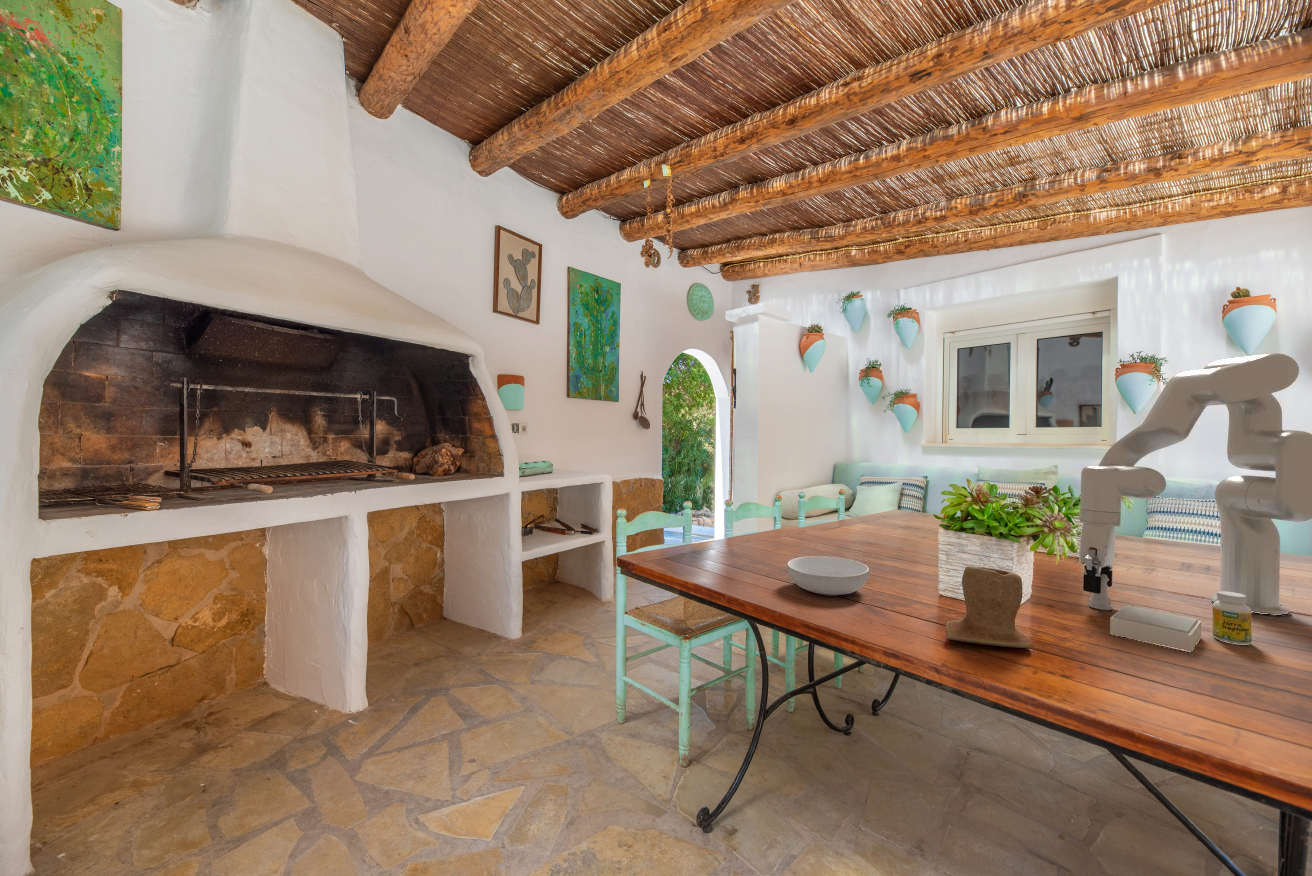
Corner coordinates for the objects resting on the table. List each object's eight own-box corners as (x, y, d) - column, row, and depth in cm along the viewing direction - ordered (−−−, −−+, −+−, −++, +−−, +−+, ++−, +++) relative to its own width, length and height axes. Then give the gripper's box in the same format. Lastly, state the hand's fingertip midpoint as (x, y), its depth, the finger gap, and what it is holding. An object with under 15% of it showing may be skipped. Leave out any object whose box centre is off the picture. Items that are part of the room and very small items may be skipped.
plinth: (1124, 621, 119) (1124, 604, 118) (1201, 638, 109) (1201, 618, 109) (1110, 634, 111) (1110, 615, 111) (1191, 653, 102) (1191, 632, 102)
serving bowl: (771, 585, 148) (771, 560, 148) (829, 576, 157) (829, 553, 157) (824, 607, 129) (824, 579, 129) (887, 596, 138) (887, 569, 138)
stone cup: (1018, 634, 111) (1018, 563, 111) (1037, 657, 100) (1038, 578, 100) (937, 626, 116) (937, 557, 116) (946, 646, 105) (947, 571, 105)
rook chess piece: (1088, 603, 131) (1088, 571, 131) (1112, 607, 128) (1112, 574, 128) (1088, 608, 128) (1088, 575, 128) (1112, 612, 125) (1112, 578, 125)
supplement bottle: (1244, 639, 109) (1244, 592, 109) (1256, 648, 104) (1257, 599, 104) (1207, 634, 111) (1208, 588, 111) (1218, 643, 107) (1219, 595, 107)
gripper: (1090, 512, 136) (1088, 579, 136) (1069, 518, 126) (1067, 590, 126) (1129, 517, 130) (1126, 586, 130) (1110, 523, 120) (1108, 599, 120)
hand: (1097, 588), depth 128 cm, fingers open, 9 cm apart
